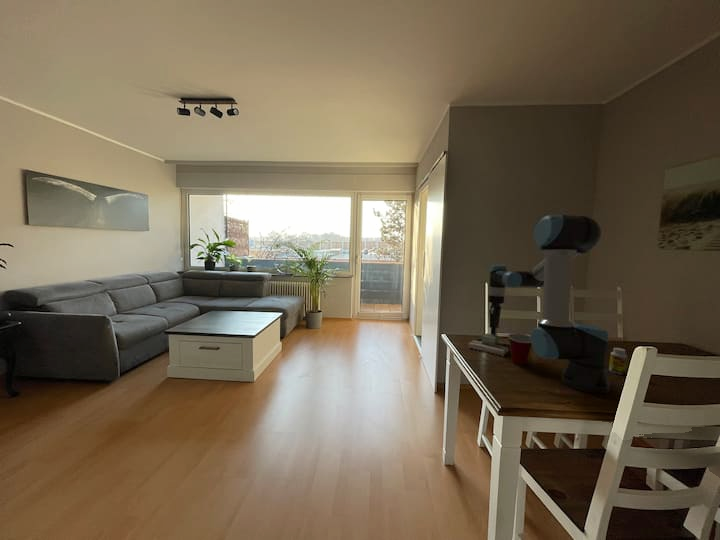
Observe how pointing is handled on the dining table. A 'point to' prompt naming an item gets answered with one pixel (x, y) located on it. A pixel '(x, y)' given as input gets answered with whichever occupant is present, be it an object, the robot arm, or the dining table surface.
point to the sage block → (490, 339)
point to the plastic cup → (519, 347)
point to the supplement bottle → (618, 361)
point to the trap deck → (498, 349)
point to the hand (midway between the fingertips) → (493, 339)
